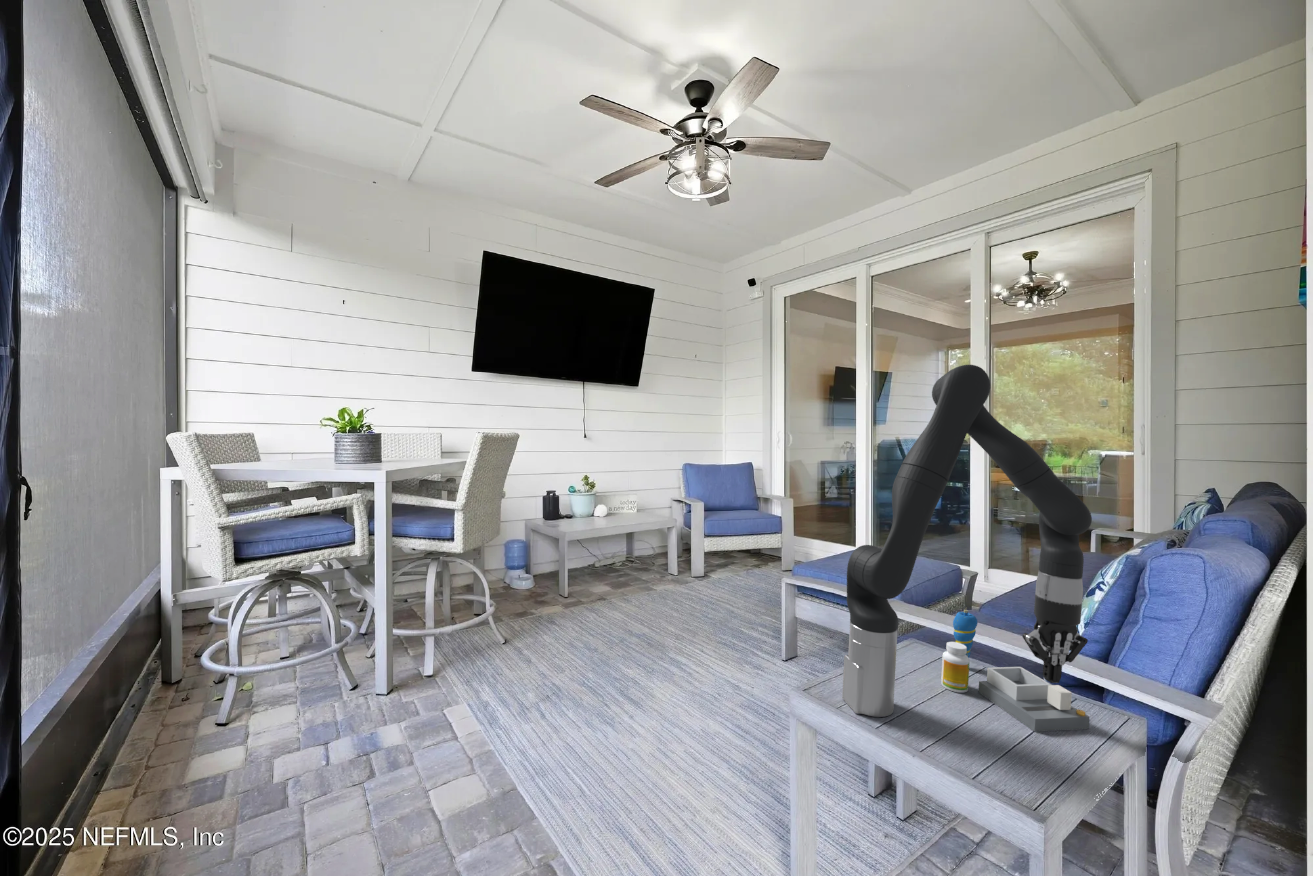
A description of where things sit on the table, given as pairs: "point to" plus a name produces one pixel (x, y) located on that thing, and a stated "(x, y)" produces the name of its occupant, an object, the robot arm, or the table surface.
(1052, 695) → the breaker handle
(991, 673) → the breaker panel
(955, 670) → the supplement bottle
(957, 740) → the table surface
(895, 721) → the table surface
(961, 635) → the ornament
